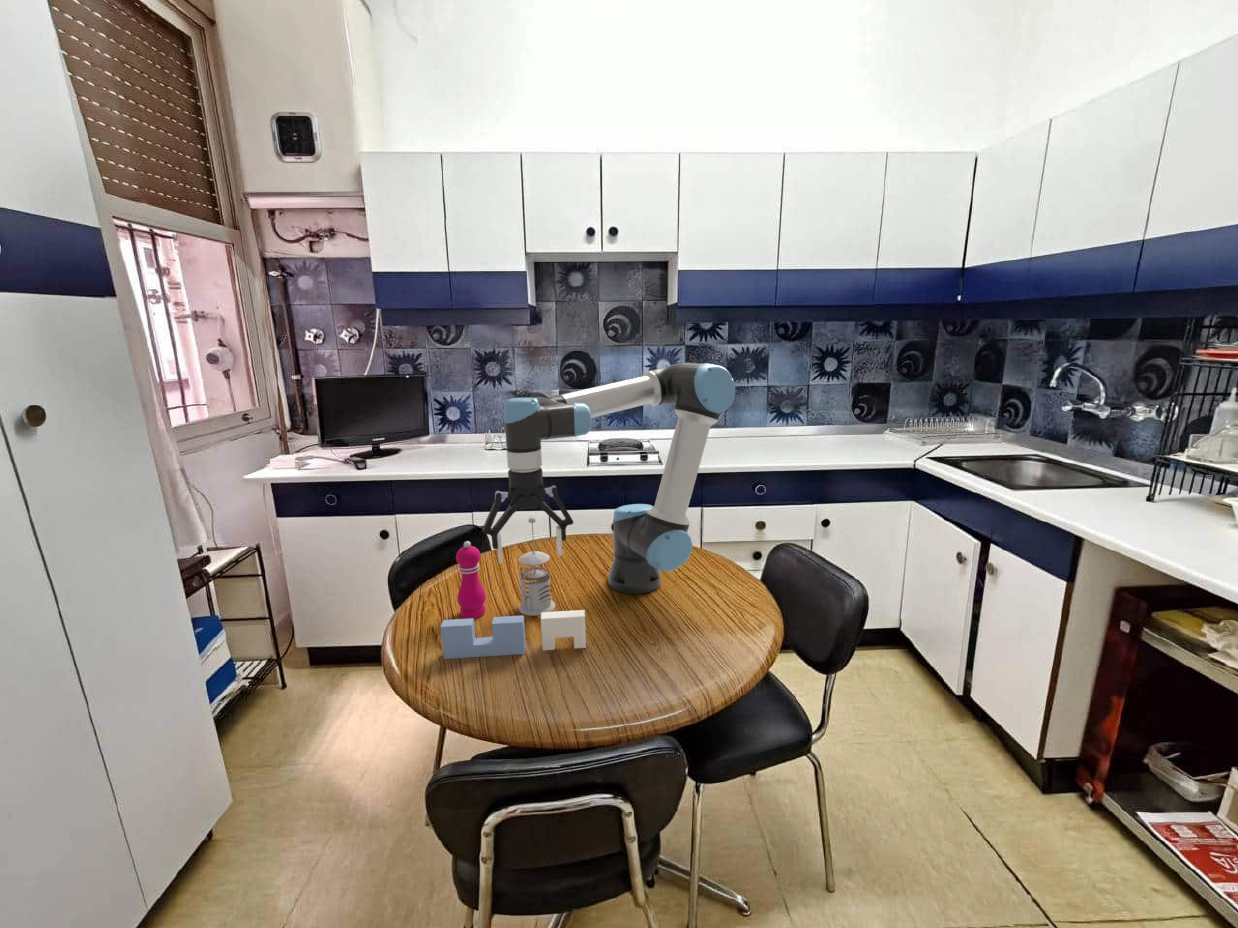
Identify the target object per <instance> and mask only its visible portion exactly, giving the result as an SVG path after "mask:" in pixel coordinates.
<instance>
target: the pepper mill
mask: <svg viewBox="0 0 1238 928" xmlns="http://www.w3.org/2000/svg"><path fill="white" fill-rule="evenodd" d="M471 543H472V542H471V541H469V540H467V541H464V543H463V546H462V547H461V548H459V549H458V551H457V552H456V555H455V560H456V563H457V564H458V565H459V566H458V572H460V575H461V584H460V587H459V588H458V589H459V590H458V592H457V596H456V597H457V598H456V599H457V600H456V601H457V604H458V606H460V610H459V611H460V617H462V619H470V618H474V619H478V618H481V617H482V616H483V615H484V614H485V613H486V605H485V604H484V603H485V602H486V600H487V594H486V593H487V592H486V590H485V588H484V586H483V585H482V583H481V581H480V578H479V572H478V571H479V570H480V564H479V562H480V559H481V553H480V550H479V549H478V547H475V546H472V544H471Z"/></svg>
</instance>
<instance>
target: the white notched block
mask: <svg viewBox="0 0 1238 928" xmlns="http://www.w3.org/2000/svg"><path fill="white" fill-rule="evenodd" d="M540 628H541V644H542V647H541V648H542V651H554V650H556V639H558V638H559V639H560V638H562V639H563V638H573V649H586V648H587V637H586V636H587V634H586V632H587V631H586V609H579V610H560V611H559V610H558V611H557V610H556V611H550V612H541V615H540Z"/></svg>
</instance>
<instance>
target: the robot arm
mask: <svg viewBox="0 0 1238 928" xmlns="http://www.w3.org/2000/svg"><path fill="white" fill-rule="evenodd" d="M735 395H736V383H735V380H734V379H733V377H732V373H730V371H729V370H727V368H725V367H723V366H721V365H717V364H713V363H709V362H708V363H706V362H705V363H699V362H698V363H695V362H693V363H692V362H678V363H674V364H670V365H666V366H663V367H659V368H656V369H652V370H651V369H650V370H648V371H645V372H644V373H643V374H642V375H641V376H638V377H635V378H630V379H624V380H620V381H616V382H611V383H607V384H603V385H597V386H593V387H589V388H585V389H580V390H575V391H572V392H567V393H563V394H559V395H558V394H557V395H553V396H549V397H543V396H540V397H514V398H513V397H512V398H509V399H507V400H506V401H505V402H504V406H503V423H504V433H505V444H506V459H507V468H508V469H509V470H508V472H507V475H508V491H500V490H496V491H495V492H494V501H493V503H492V506H491V508H490V510H489V513H488V515H487V517H486V520H485V522H484V524H483V526H482V532H483V534H484V535H485V536H487V535H488V536H490V537H491V544H492V548H493V550H497V556H498V557H497V558H498V563H499V565H500V564H503V561H504V560H503V559H504V558H503V549H502V536H501V530H503V528H504V526H505V525H506V524H507V523H508V521H509V520H510V519H511V517H513V515H514V514H515V513H516V512H517V510H520V511H524V510H528V509H529V510H535V509H536V508H538V507H539V508H540V509H541V510H542V511H543V512H544V513H545V514H547V516H548V517H549V518H551V519H552V521H554V522H555V524H557V525H555V533H556V534H555V537H556V552H557V555H558V556H559V557H560V556H561V557H562V556H563V542H565V541H566V539H567V527H568V526H570V525H573V524H574V520H573V518H572V516H571V515H570V513H569V512H568V510H567V508H566V507H565V505H564V503H563V501H562V500H561V498H560V497H559V491H558V488H557V486H556V485H555V484H552V485H551V486H550V487H544V478H543V477H544V476H543V469H542V465H543V460H542V441H543V440H544V441H545V440H552V439H562V438H572V437H574V438H577V437H580V436H585V435H587V434H588V433H590V431H591V429H592V424H593V423H592V421H593V420H592V418H596V417H601V416H605V415H609V414H612V413H613V414H614V413H617V412H622V411H625V410H629V409H633V408H637V407H641V406H645V405H650V406H651V407H657V406H662V405H674V412H675V414H676V417H677V422H676V425H675V429H674V432H673V436H672V439H671V443H670V448H669V451H668V454H667V457H666V462H665V465H664V470H663V473H662V476H661V480H660V484H659V488H658V492H657V495H656V499H655V502H654V506H653V505H651V504H647V503H634V504H633V503H632V504H626V505H621V506H619V507H616V508H615V510H614V511H613V518H612V523H613V555H614V557H613V561H612V562H611V563H612V564H611V566H610V570H609V573H608V585H609V587H610V588H611V589H613V590H615V591H617V592H620V593H624V594H629V595H630V594H637V595H638V594H645V593H651V592H652V591H654V590H656V589H658V588H659V587H660V585H661V578H662V577H661V576H662V575H661V572H660V571H662V572H672V571H676V570H677V569H679V568H680V567H681V566H683V565H684V564H686V562H687V561H688V560H689V558H690V557H691V555H692V551H693V541H692V540H691V539H692V538H691V535H689V534H688V532H689V527H690V524H691V522H690V521H689V519H688V516H687V512H688V509H689V505H690V502H691V501H690V500H691V498H692V494H693V491H694V487H695V484H696V480H697V478H698V477H697V476H698V473H699V469H700V465H701V462H702V458H703V455H704V451H705V447H706V444H707V442H708V441H707V440H708V437H709V434H710V429H711V427H712V426H714V425H715V424H716V423H718V422H719V419H720V415H721V413H723V412H726V410H728V408H730V407H731V406H732V404H733V402H734V399H735V397H736V396H735ZM546 494H547V495H549V496H548V497H550V498H553V500H554V502H555V504H556V506H557V507H558V508H559V510H560V512H561V513H562V515H563V517H564V519H562V518H561V517H560V516H559V515H558V514H557V513H556V512H555V511H554V510H553V509H552V508H551V507H550V506H549V505H548V504H547V503H546V502H545V501H544V500H543V499H544V498H545V496H546ZM506 498H507V499H509V501H511V502H510V503H509V505H508V507H507V508H506V509H505V510H504V512H503V513H502V515H501V516H500V517H499V518H498V520H497V521H496V522H495V519H496V517H497V514H498V512H499V510H500V507H501V506H502V505H501V504H502V503H503V502H504V501H505V500H506ZM494 522H495V524H494ZM493 524H494V525H493Z"/></svg>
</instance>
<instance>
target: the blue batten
mask: <svg viewBox="0 0 1238 928" xmlns="http://www.w3.org/2000/svg"><path fill="white" fill-rule="evenodd" d="M491 627H492V628H491V629H492V631H491V632H492V636H489V637H488V636H486V637H476V629H475V618H470V619H466V618H456V619H443V621H442V623H441V624H440V634H441V635H440V637H441V646H442V655H443V656H442V657H443V660H449V659H467V658H481V657H482V658H483V657H499V656H500V657H501V656H514V655H515V656H516V655H525V653H526V648H527V647H526V632H525V631H526V629H525V614H524V615H523V614H522V615H509V616H507V615H506V616H494V617H493V620H492V621H491Z"/></svg>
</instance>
